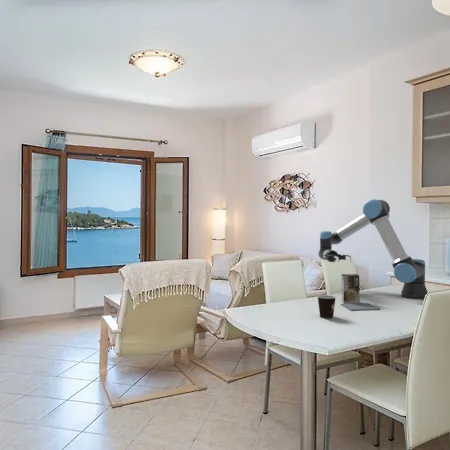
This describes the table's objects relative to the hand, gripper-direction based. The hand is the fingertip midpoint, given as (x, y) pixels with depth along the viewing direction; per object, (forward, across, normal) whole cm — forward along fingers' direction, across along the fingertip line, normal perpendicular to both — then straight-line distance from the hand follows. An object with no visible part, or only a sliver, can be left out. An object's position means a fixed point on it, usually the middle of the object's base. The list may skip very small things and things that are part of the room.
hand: (344, 259), depth 251 cm
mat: (+22, 0, -24) cm, 32 cm away
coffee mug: (+40, +24, -24) cm, 53 cm away
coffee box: (+9, 0, -24) cm, 26 cm away
